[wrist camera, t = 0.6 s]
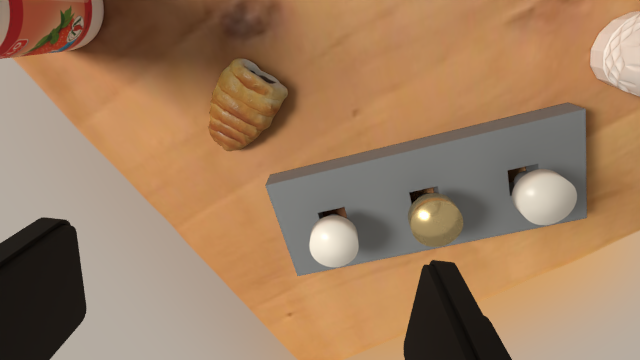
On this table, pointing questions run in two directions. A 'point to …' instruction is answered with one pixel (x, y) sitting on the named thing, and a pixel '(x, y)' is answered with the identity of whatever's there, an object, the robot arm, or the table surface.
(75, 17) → the white yogurt drink bottle
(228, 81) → the pastry
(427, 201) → the brass knob
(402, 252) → the knob mount
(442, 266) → the robot arm
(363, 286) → the table surface
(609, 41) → the white cup
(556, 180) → the white knob
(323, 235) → the white knob
